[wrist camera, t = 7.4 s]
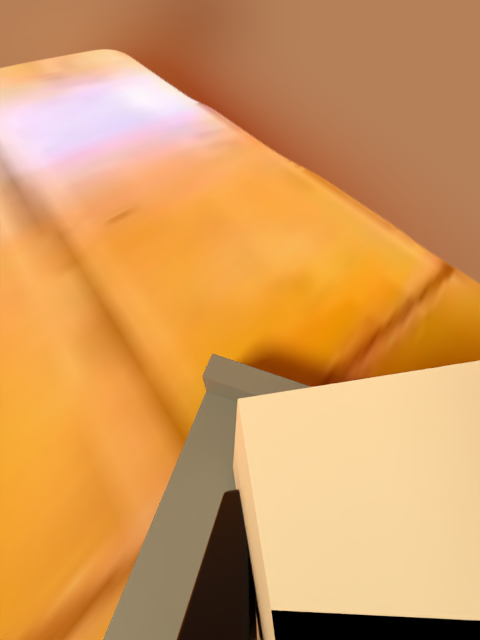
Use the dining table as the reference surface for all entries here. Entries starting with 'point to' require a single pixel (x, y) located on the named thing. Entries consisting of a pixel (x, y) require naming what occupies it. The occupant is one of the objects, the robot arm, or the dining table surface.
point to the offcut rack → (189, 506)
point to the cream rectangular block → (364, 507)
